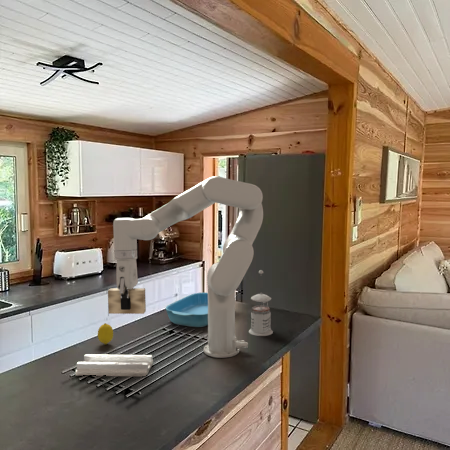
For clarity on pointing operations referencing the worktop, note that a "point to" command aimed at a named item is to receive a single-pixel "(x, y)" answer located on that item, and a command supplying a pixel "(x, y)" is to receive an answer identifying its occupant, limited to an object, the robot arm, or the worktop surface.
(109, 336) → the lemon
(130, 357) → the bottom track
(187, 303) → the casserole dish
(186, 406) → the worktop surface
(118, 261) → the robot arm
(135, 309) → the tan wooden block
